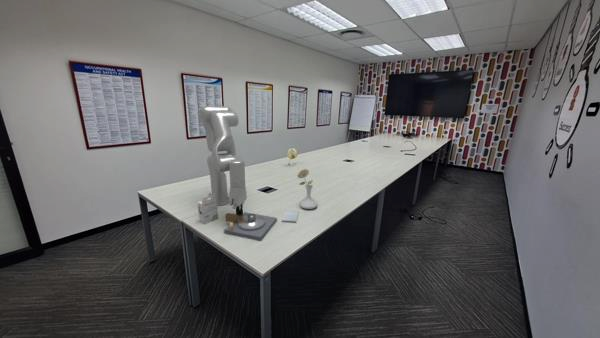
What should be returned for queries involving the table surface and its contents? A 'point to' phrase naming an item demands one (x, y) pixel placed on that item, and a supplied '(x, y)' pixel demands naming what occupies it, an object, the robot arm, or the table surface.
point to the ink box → (207, 209)
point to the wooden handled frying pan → (246, 220)
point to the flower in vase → (308, 201)
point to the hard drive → (290, 216)
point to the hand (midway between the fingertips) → (239, 215)
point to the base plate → (251, 234)
